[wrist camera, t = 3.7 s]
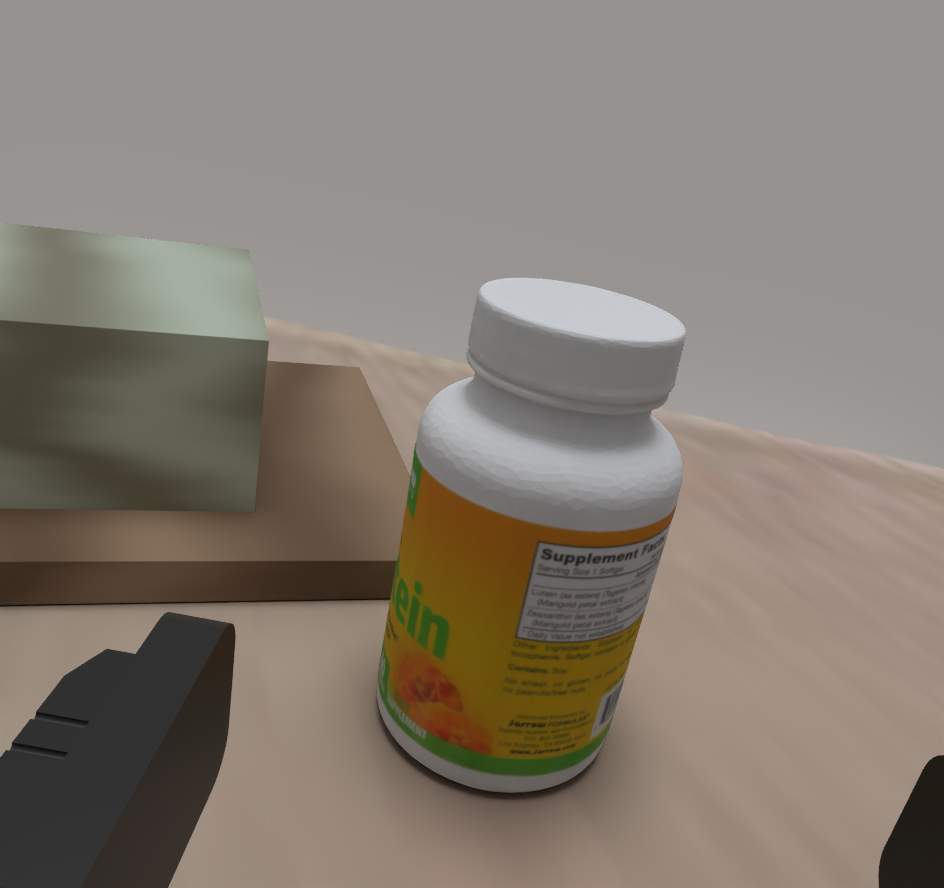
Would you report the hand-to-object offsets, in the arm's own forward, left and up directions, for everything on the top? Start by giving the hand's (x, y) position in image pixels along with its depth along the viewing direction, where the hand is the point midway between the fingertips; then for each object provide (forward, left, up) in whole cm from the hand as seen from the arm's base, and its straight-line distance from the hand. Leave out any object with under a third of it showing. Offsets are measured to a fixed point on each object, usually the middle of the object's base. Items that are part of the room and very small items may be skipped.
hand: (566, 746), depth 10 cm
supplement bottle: (-3, -8, -7) cm, 11 cm away
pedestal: (+7, -20, -7) cm, 22 cm away
